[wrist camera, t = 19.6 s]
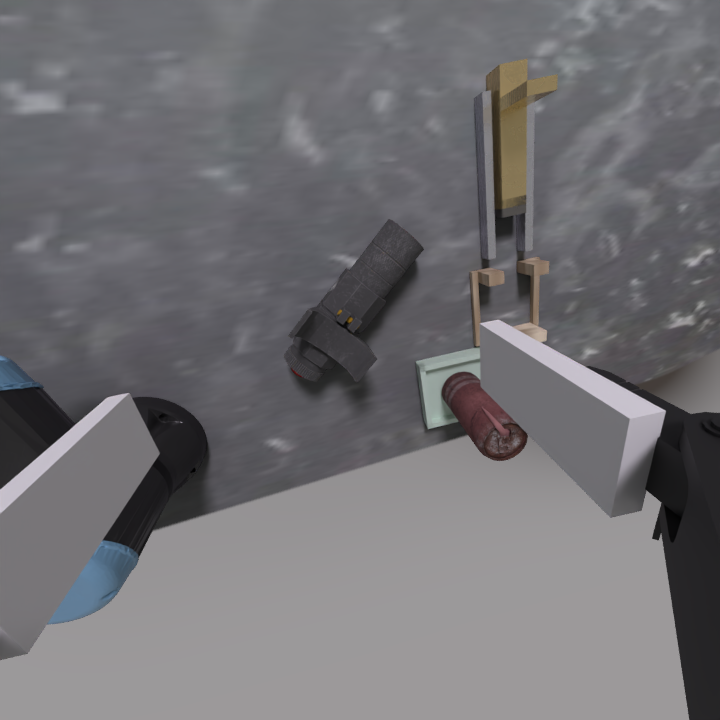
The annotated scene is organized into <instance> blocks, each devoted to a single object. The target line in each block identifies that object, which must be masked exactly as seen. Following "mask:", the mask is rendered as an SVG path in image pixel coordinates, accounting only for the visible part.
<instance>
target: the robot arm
mask: <svg viewBox="0 0 720 720" xmlns="http://www.w3.org/2000/svg"><path fill="white" fill-rule="evenodd" d="M480 380H481V388H482V389H483V390H484V391H485V392H486V393H487V394H488V395H489V396H490V397H491V398H492V399H493V400H494V401H495V402H496V403H497V404H498V405H499V406H500V407H501V408H502V409H503V410H504V411H505V412H506V413H507V414H508V415H509V416H510V417H511V418H512V419H513V420H514V421H515V422H516V423H517V424H518V425H519V426H520V427H521V428H522V429H523V430H524V431H525V432H526V433H527V434H528V435H529V436H530V437H531V438H532V439H533V440H534V441H535V442H536V443H537V444H538V445H539V446H540V447H541V448H542V449H543V450H544V451H545V452H546V453H547V454H548V455H549V456H550V457H551V458H552V459H553V460H554V461H555V462H556V463H557V464H558V465H559V466H560V467H561V468H562V469H563V470H564V471H565V472H566V473H567V474H568V475H569V476H570V477H571V478H572V479H573V480H574V481H575V482H576V483H577V484H578V485H579V486H580V487H581V488H582V489H583V490H584V491H585V492H586V494H587V495H589V496H590V497H591V499H592V500H594V501H595V503H596V504H598V506H599V507H600V508H601V509H602V510H603V511H604V512H605V513H606V514H607V515H609V517H611V518H612V517H616V516H620V515H624V514H629V513H633V512H637V511H641V510H642V506H643V502H644V498H645V494H646V490H647V491H648V492H649V493H651V494H652V495H653V496H654V497H656V498H657V499H658V500H659V501H660V502H662V503H661V507H660V511H659V514H658V518H657V522H656V525H655V529H654V533H653V537H652V539H656V540H659V537H660V534H661V533H662V540H663V546H664V553H665V560H666V567H667V573H668V580H669V586H670V593H671V600H672V607H673V613H674V619H675V627H676V633H677V640H678V647H679V653H680V660H681V667H682V673H683V680H684V687H685V693H686V700H687V707H688V714H689V720H720V413H709V412H703V413H696V414H690V413H688V412H685V411H684V410H682V409H680V408H678V407H676V406H674V405H672V404H670V403H668V402H666V401H664V400H663V399H660V398H659V397H657V396H655V395H653V394H651V393H649V392H647V391H645V390H643V389H642V390H640V389H639V387H637V386H635V385H634V384H632V383H630V382H627V383H626V380H624V379H622V378H620V377H618V376H616V375H614V374H612V373H610V372H608V371H604V370H601V369H597V368H594V367H590V366H587V367H585V366H583V365H581V364H579V363H577V362H575V361H574V360H572V359H570V358H568V357H566V356H564V355H563V354H561V353H559V352H557V351H555V350H553V349H552V348H550V347H548V346H546V345H544V344H542V343H541V342H539V341H537V340H535V339H533V338H531V337H530V336H528V335H526V334H524V333H522V332H520V331H518V330H517V329H515V328H513V327H511V326H509V325H507V324H506V323H504V322H502V321H500V320H495V321H490V322H485V323H480ZM43 388H44V387H43V386H42V385H41V384H40V383H37V382H35V381H34V380H33V379H32V378H31V377H29V376H28V375H27V374H26V373H25V372H24V371H23V370H22V369H21V368H20V367H19V366H18V365H17V364H16V363H15V362H14V361H12V360H11V359H9V358H7V357H4V356H1V355H0V660H2V659H7V658H11V657H15V656H19V655H23V654H28V652H29V651H30V649H31V648H32V646H33V644H34V643H35V641H36V640H37V638H38V637H39V635H40V634H41V632H42V631H43V629H44V628H45V626H46V625H47V624H57V623H64V622H69V621H73V620H76V619H80V618H83V617H85V616H88V615H90V614H92V613H94V612H96V611H98V610H100V609H101V608H103V607H104V606H105V605H107V604H108V603H109V602H110V601H111V600H112V599H113V598H114V597H115V595H117V593H118V592H119V590H120V589H121V587H122V585H123V584H124V582H125V581H126V579H127V577H128V576H129V574H130V573H131V571H132V570H133V569H134V568H135V566H136V565H137V562H138V560H139V559H138V558H139V556H140V554H141V552H142V550H143V548H144V546H145V544H146V542H147V540H148V538H149V536H150V534H151V533H152V531H153V529H154V527H155V525H156V523H157V521H158V519H159V517H160V515H161V513H162V511H163V509H164V507H165V505H166V503H167V501H168V500H169V498H170V496H171V495H172V494H173V493H174V492H175V491H177V490H178V489H179V488H180V487H181V486H182V485H183V484H185V483H186V482H187V481H188V480H189V479H190V478H191V477H192V476H193V475H194V474H195V473H196V471H197V470H198V468H199V467H200V465H201V463H202V460H203V458H204V456H205V453H206V448H207V441H206V436H205V433H204V430H203V428H202V426H201V425H200V423H199V422H198V421H197V419H196V418H195V417H194V416H193V415H192V414H190V413H189V412H188V411H187V410H185V409H184V408H182V407H180V406H179V405H177V404H174V403H172V402H170V401H167V400H163V399H159V398H152V397H137V398H132V397H131V395H130V393H126V394H121V395H116V396H111V397H107V398H106V399H105V400H104V401H103V402H102V403H100V404H99V405H98V406H97V407H96V408H95V409H93V410H92V411H91V412H90V413H89V414H88V415H86V416H85V417H84V418H83V419H82V420H81V421H79V422H78V423H77V424H75V423H74V422H73V421H72V420H71V419H70V418H69V417H68V416H67V414H66V413H65V412H64V411H63V410H62V409H61V408H60V407H59V406H58V405H57V404H56V403H55V401H54V400H53V399H52V398H51V397H50V396H49V395H48V394H47V393H46V392H45V391H44V390H43Z"/></svg>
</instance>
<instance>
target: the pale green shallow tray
mask: <svg viewBox="0 0 720 720" xmlns="http://www.w3.org/2000/svg"><path fill="white" fill-rule="evenodd" d="M416 369H417V376H418V383H419V390H420V397H421V404H422V411H423V418H424V422H425V424H426V426H427V428H428V429H430V428H435V427H439V426H443V425H447V424H451V423H455V422H459V421H458V420H457V418H456V417H455V415H454V414H453V413H452V411H451V410H450V408H449V407H448V405H447V404H446V403H445V401H444V400H443V397H442V387H443V385H444V383H445V381H446V380H447V378H449V377H450V376H451V375H453V374H455V373H457V372H464V371H465V372H471V373H472V374H474V375H476V376H477V377H478V378H479V379H480V347H476V348H471V349H467V350H463V351H458V352H454V353H450V354H445V355H441V356H437V357H433V358H428V359H424V360H420V361H416Z"/></svg>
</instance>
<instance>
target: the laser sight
mask: <svg viewBox="0 0 720 720" xmlns="http://www.w3.org/2000/svg"><path fill="white" fill-rule="evenodd" d="M423 250H424V249H423V247H422V246H421V245H420V243H419V242H418V241H417V240H416V239H415V238H414V237H413V236H412V235H410V234H409V233H408V232H407V231H406V230H405V229H403V228H402V227H401V226H400V225H398V224H397V223H395V222H394V221H392V220H390V219H388V221H387V222H386V223H385V225H384V226H383V227H382V229H381V230H380V231H379V233H378V234H377V235H376V237H375V238H374V239H373V240H372V242H371V243H370V244H369V246H368V247H367V248H366V250H365V251H364V252H363V254H362V255H361V256H360V257H359V259H358V260H357V261H356V263H355V264H354V265H353V267H352V268H351V269H350V270H348V269H347V268H346V269H345V271H344V272H343V273H342V274H341V276H340V277H339V278H338V280H337V281H336V282H335V284H334V285H333V286H332V288H331V289H330V290H329V292H328V293H327V294H326V295H325V297H324V298H323V299H322V301H321V302H320V303H319V305H318V306H317V307H313V308H310V309H308V310H307V311H306V313H305V314H304V315H303V317H302V318H301V319H300V321H299V322H298V323H297V325H296V326H295V327H294V329H293V330H292V331H291V333H290V334H289V335H288V336H289V337H290V338H292V339H293V337H294V340H293V345H292V346H290V347H289V349H288V350H287V351H286V353H285V354H284V358H285V361H286V362H287V364H288V365H289V366H290V367H291V369H292V371H293V372H294V373H295V374H296V375H298V376H300V377H303V378H306V379H308V380H311V381H318V380H319V379H320V378H321V377H322V375H323V374H324V373H325V371H326V369H332V368H333V367H334V366H335V365H336V363H337V362H339V363H340V364H341V365H342V366H343V367H344V368H346V369H347V370H348V371H349V373H350V374H351V375H352V376H353V378H354V381H356V382H358V381H359V380H360V379H361V378H362V377H363V375H364V374H365V373H366V372H367V371H368V370H369V368H370V367H371V366H372V365H373V364H374V362H375V361H376V360H377V358H376V356H375V355H374V353H373V352H372V351H371V349H370V348H369V346H368V345H367V344H366V343H365V342H363V341H362V340H361V339H359V338H358V337H359V335H360V334H359V332H363V330H364V329H365V328H366V327H367V326H368V324H369V323H370V322H371V321H372V319H373V318H374V317H375V316H376V315H377V313H378V312H379V311H380V310H381V309H382V307H383V306H384V305H385V304H386V301H385V299H384V298H385V296H386V295H387V294H388V293H389V291H390V290H391V289H392V288H393V286H395V284H396V283H397V282H398V280H399V279H400V278H401V277H402V276H403V274H404V273H405V271H407V270H408V268H409V267H410V266H411V264H412V263H413V262H414V261H415V259H416V258H417V257H418V256H419V255H420V253H421V252H422V251H423Z"/></svg>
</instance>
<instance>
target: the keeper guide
mask: <svg viewBox="0 0 720 720" xmlns="http://www.w3.org/2000/svg"><path fill="white" fill-rule="evenodd" d="M474 101H475V123H476V145H477V167H478V189H479V210H480V232H481V254H482V258H484V259H488V260H489V259H494V258H496V242H495V208H494V173H493V139H492V104H491V90H490V91H485V92H482V93H480V94H479V95H478V96H476V97H475V98H474ZM534 113H535V102H533V103H531V104H530V105H528V106H527V171H526V213H522V214H518V215H517V250H519V251H530V250H533V183H534Z"/></svg>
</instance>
